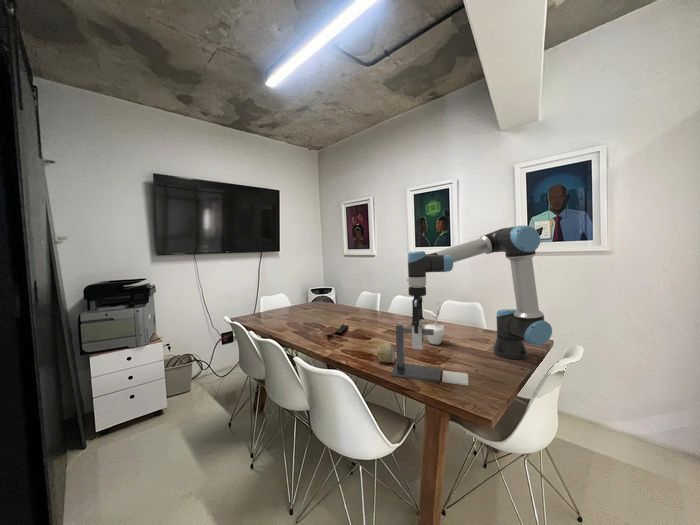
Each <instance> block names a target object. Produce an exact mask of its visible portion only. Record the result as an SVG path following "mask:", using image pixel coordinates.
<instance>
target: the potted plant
mask: <svg viewBox="0 0 700 525" xmlns="http://www.w3.org/2000/svg"><path fill="white" fill-rule="evenodd" d="M435 304H436V305H437V308H436V313H435V312H434V311H432V310H429V309H423V308H422V309H423V312H425V313H427V314H429V315H431V316H432V317H433V318H435V319H434V323H429V324H426V325H425V324H424V329H434V335H426V338H427V339H428V340H427V341H428V343H429V344H431V345H434V344H435V345H440V344H441V343H442V340H443V337H444V336H445V335H446V331H445V330H446V329H445V328H446V327H445V325H443V324H441V325H440V324H438V317H439V315H440V309H441V308H442V305H440V302H439V301H437V302H436V303H435Z"/></svg>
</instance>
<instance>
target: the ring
mask: <svg viewBox="0 0 700 525" xmlns="http://www.w3.org/2000/svg"><path fill="white" fill-rule="evenodd" d="M419 325H420V341H414V340H413V326H412V327H411V328H412V334H411V346H412V347H411V348H412V349H413V350H420V351H422V350H423V348H424V345H425V335H423V334H422V330H423V329H425V323H424V322H423V323H419Z"/></svg>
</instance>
